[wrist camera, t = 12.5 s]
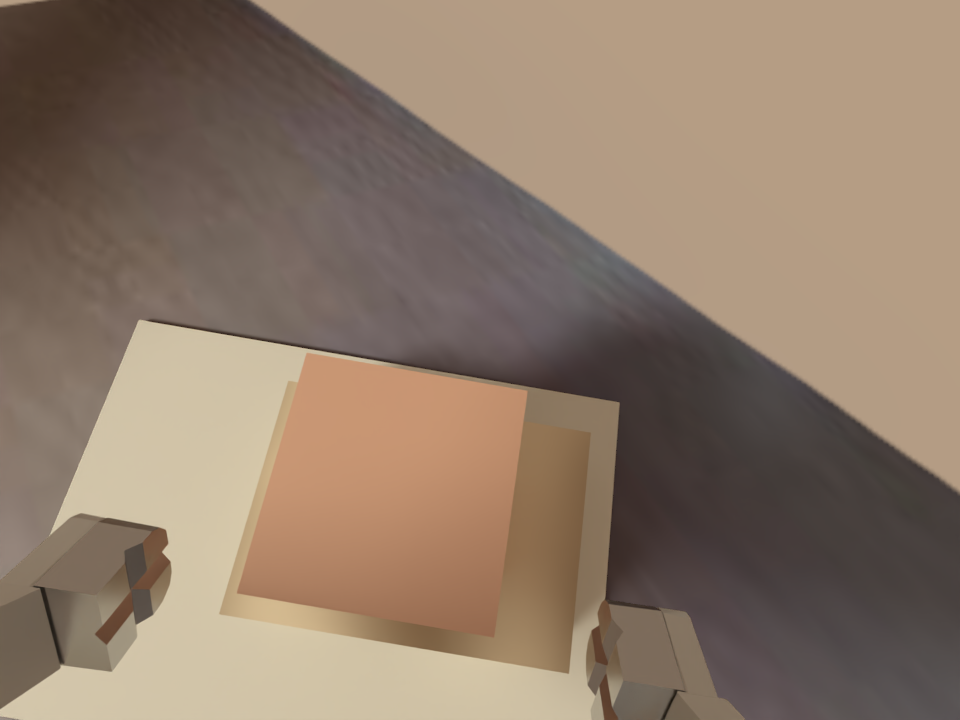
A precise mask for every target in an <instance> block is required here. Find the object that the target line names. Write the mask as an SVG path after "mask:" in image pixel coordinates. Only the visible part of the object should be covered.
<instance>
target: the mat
mask: <svg viewBox="0 0 960 720" xmlns="http://www.w3.org/2000/svg"><path fill="white" fill-rule="evenodd" d="M306 353H312V354H317V355H323V356H329V357H335V358H341V359H346V360H352V361H358V362H364V363H370V364H375V365H381V366H387V367H393V368H398V369H404V370H410V371H416V372H422V373H427V374H433V375H439V376H445V377H451V378H456V379H462V380H468V381H474V382H479V383H485V384H491V385H497V386H503V387H508V388H514V389H520V390H526V391H528V393H527V400H526V408H525V415H524V421H526V422H532V423H538V424H544V425H549V426H555V427H561V428H567V429H573V430H579V431H584V432H590V433H591V437H590V448H589V459H588V470H587V481H586V492H585V503H584V514H583V525H582V536H581V547H580V558H579V569H578V580H577V591H576V602H575V614H574V625H573V636H572V647H571V658H570V669H569V674H567V673H561V672H555V671H549V670H543V669H538V668H532V667H526V666H520V665H514V664H508V663H502V662H496V661H491V660H485V659H479V658H473V657H467V656H461V655H455V654H449V653H444V652H438V651H432V650H426V649H420V648H414V647H408V646H403V645H397V644H391V643H385V642H379V641H373V640H367V639H361V638H356V637H350V636H344V635H338V634H332V633H326V632H320V631H314V630H309V629H303V628H297V627H291V626H285V625H279V624H273V623H267V622H262V621H256V620H250V619H244V618H238V617H232V616H226V615H220V614H219V612H220V609H221V606H222V602H223V599H224V595H225V592H226V589H227V585H228V582H229V579H230V575H231V572H232V569H233V565H234V562H235V558H236V555H237V552H238V548H239V545H240V542H241V538H242V535H243V532H244V528H245V525H246V521H247V518H248V515H249V511H250V508H251V505H252V501H253V498H254V495H255V491H256V488H257V484H258V481H259V478H260V474H261V471H262V468H263V464H264V461H265V458H266V454H267V451H268V447H269V444H270V441H271V437H272V434H273V431H274V427H275V424H276V421H277V417H278V414H279V410H280V407H281V404H282V400H283V397H284V394H285V390H286V387H287V384H288V381H293V382H298V381H299V377H300V374H301V370H302V367H303V364H304V360H305V357H306ZM619 404H620V402H614V401H608V400H602V399H596V398H590V397H585V396H579V395H573V394H567V393H561V392H556V391H550V390H544V389H538V388H532V387H526V386H521V385H515V384H509V383H503V382H497V381H492V380H486V379H480V378H474V377H468V376H462V375H457V374H451V373H445V372H439V371H433V370H428V369H422V368H416V367H410V366H404V365H398V364H393V363H387V362H381V361H375V360H369V359H364V358H358V357H352V356H346V355H340V354H334V353H329V352H323V351H317V350H311V349H305V348H300V347H294V346H288V345H282V344H276V343H270V342H265V341H259V340H253V339H247V338H241V337H236V336H230V335H224V334H218V333H212V332H206V331H201V330H195V329H189V328H183V327H177V326H172V325H166V324H160V323H154V322H148V321H142V320H139V321H138V324H137V326H136V329H135V331H134V333H133V336H132V338H131V341H130V343H129V345H128V348H127V350H126V353H125V355H124V357H123V360H122V362H121V365H120V367H119V370H118V372H117V374H116V377H115V379H114V382H113V384H112V386H111V389H110V391H109V394H108V396H107V398H106V401H105V403H104V406H103V408H102V411H101V413H100V415H99V418H98V420H97V423H96V425H95V427H94V430H93V432H92V435H91V437H90V439H89V442H88V444H87V447H86V449H85V452H84V454H83V456H82V459H81V461H80V464H79V466H78V468H77V471H76V473H75V476H74V478H73V480H72V483H71V485H70V488H69V490H68V493H67V495H66V497H65V500H64V502H63V505H62V507H61V509H60V512H59V514H58V517H57V519H56V521H55V524H54V526H53V529H52V531H51V533H50V535H51V534H52V533H53V532H54V531H56V530H57V529H58V528H59V527H60V526H61V525H62V524H63V523H64V522H66V521H67V520H68V519H69V518H70V517H72V516H75V515H77V514H80V513H84V514H89V515H94V516H100V517H105V518H113V519H118V520H123V521H128V522H134V523H139V524H144V525H150V526H155V527H160V528H162V529H165V530H166V532H167V538H168V543H169V544H168V545H167V546H166V547H165V549H164V550H163V551H162V553H163V554H164V555H165V556H166V557H167V558H168V559H169V560H170V562H171V569H172V574H171V581H170V585H169V588H168V590H167V593H166V595H165V597H164V600H163V602H162V603H161V605H160V606H159V608H158V609H157V610H156V612H155V613H154V615H153V616H151V617H149V618H147V619H146V620H144V621H142V622H140V623H139V624H137V638H136V640H135V641H134V642H133V644H132V645H131V647H130V648H129V649H128V651H127V652H126V653H125V655H124V656H123V658H122V659H121V660H120V662H119V663H118V664H117V666H116V667H115V669H114V670H113V671H112V672H109V671H101V670H94V669H86V668H78V667H71V666H63V665H61V668H60V669H59V670H58V671H56V672H55V673H53V674H52V675H50V676H49V677H47V678H46V679H44V680H43V681H41V682H40V683H39V684H37V685H36V686H34V687H33V688H31V689H30V690H28V691H27V692H25V693H24V694H22V695H21V696H19V697H18V698H16V699H15V700H13V701H12V702H10V703H9V704H7V705H6V706H4V707H3V708H1V709H0V716H3V717H9V718H15V719H20V720H592V718H591V711H590V710H591V707H592V705H593V702H594V699H595V695H594V693H593V692H592V691H591V689H590V688H589V687H588V685H587V676H586V652H587V644H588V640H589V637H590V633H591V630H593V629H594V628H596V627H597V626H599V621H598V615H597V613H598V610H599V607H600V605H601V603H602V602H603V601H604V599H605V595H606V581H607V568H608V554H609V541H610V527H611V513H612V500H613V486H614V472H615V459H616V445H617V432H618V418H619Z"/></svg>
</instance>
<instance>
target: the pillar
mask: <svg viewBox="0 0 960 720" xmlns="http://www.w3.org/2000/svg"><path fill="white" fill-rule="evenodd" d="M527 393H528V391H526V390H520V389H514V388H508V387H503V386H497V385H491V384H485V383H479V382H474V381H468V380H462V379H456V378H451V377H445V376H439V375H433V374H427V373H422V372H416V371H410V370H404V369H398V368H393V367H387V366H381V365H375V364H370V363H364V362H358V361H352V360H346V359H341V358H335V357H329V356H323V355H317V354H312V353H306V357H305V360H304V364H303V367H302V370H301V374H300V377H299V381H298V384H297V388H296V391H295V394H294V398H293V401H292V405H291V408H290V412H289V415H288V418H287V422H286V425H285V429H284V432H283V436H282V439H281V442H280V446H279V449H278V453H277V456H276V460H275V463H274V466H273V470H272V473H271V477H270V480H269V484H268V487H267V490H266V494H265V497H264V501H263V504H262V508H261V511H260V514H259V518H258V521H257V525H256V528H255V532H254V535H253V538H252V542H251V545H250V549H249V552H248V556H247V559H246V562H245V566H244V569H243V573H242V576H241V580H240V583H239V586H238V590H237V594H243V595H249V596H254V597H260V598H266V599H272V600H278V601H283V602H289V603H295V604H301V605H307V606H313V607H318V608H324V609H330V610H336V611H342V612H348V613H353V614H359V615H365V616H371V617H377V618H383V619H388V620H394V621H400V622H406V623H412V624H418V625H423V626H429V627H435V628H441V629H447V630H453V631H458V632H464V633H470V634H476V635H482V636H487V637H493V638H494V635H495V627H496V620H497V613H498V606H499V598H500V591H501V584H502V576H503V569H504V562H505V554H506V547H507V540H508V532H509V525H510V518H511V510H512V503H513V496H514V488H515V481H516V474H517V466H518V459H519V452H520V444H521V437H522V430H523V422H524V415H525V408H526V400H527Z"/></svg>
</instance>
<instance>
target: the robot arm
mask: <svg viewBox="0 0 960 720" xmlns="http://www.w3.org/2000/svg"><path fill="white" fill-rule="evenodd" d="M168 544H169V543H168V538H167V532H166V530H165V529H162V528H160V527H155V526H150V525H144V524H139V523H134V522H128V521H123V520H118V519H113V518H105V517H100V516H94V515H89V514H84V513H80V514H77V515H75V516H72V517H70V518H69V519H68V520H67V521H66V522H64V523H63V524H62V525H61V526H60V527H59V528H58V529H57V530H56V531H54V532H53V533H52V534H51V535H50V536H49V537H48V538H47V539H46V540H45V541H43V542H42V543H41V544H40V545H39V546H38V547H37V548H36V549H35V550H33V551H32V552H31V553H30V554H29V555H28V556H27V557H26V558H25V559H23V560H22V561H21V562H20V563H19V564H18V565H17V566H16V567H15V568H13V569H12V570H11V571H10V572H9V573H8V574H7V575H6V576H5V577H4V578H2V579H1V580H0V709H1V708H3V707H4V706H6V705H7V704H9V703H10V702H12V701H13V700H15V699H16V698H18V697H19V696H21V695H22V694H24V693H25V692H27V691H28V690H30V689H31V688H33V687H34V686H36V685H37V684H39V683H40V682H41V681H43V680H44V679H46V678H47V677H49V676H50V675H52V674H53V673H55V672H56V671H58V670H59V669H60V668H61V665H63V666H71V667H78V668H86V669H94V670H101V671H109V672H112V671H113V670H114V669H115V667H116V666H117V664H118V663H119V662H120V660H121V659H122V658H123V656H124V655H125V653H126V652H127V651H128V649H129V648H130V647H131V645H132V644H133V642H134V641H135V640H136V638H137V624H139V623H140V622H142V621H144V620H146V619H147V618H149V617H151V616H153V615H154V613H155V612H156V610H157V609H158V608H159V606H160V605H161V603H162V602H163V600H164V597H165V595H166V593H167V590H168V588H169V585H170V581H171V574H172V569H171V562H170V560H169V559H168V558H167V557H166V556H165V555H164V554H163V553H162V551H163V550H164V549H165V547H166V546H167V545H168ZM597 615H598V621H599V626H597V627H596V628H594V629H593V630H591V633H590V637H589V640H588V644H587V652H586V676H587V685H588V687H589V688H590V689H591V691H592V692H593V693H594V695H595V699H594V702H593V705H592V707H591V710H590V711H591V718H592V720H745V719H744V717H743V716H742V715H741V714H740V713H739V712H738V711H737V710H736V709H735V708H734V707H733V706H732V705H731V703H730V702H729V701H728V700H727V699H722V698H718V696H717V693H716V690H715V687H714V684H713V682H712V679H711V676H710V673H709V670H708V667H707V664H706V661H705V659H704V656H703V653H702V650H701V647H700V644H699V641H698V639H697V636H696V633H695V630H694V627H693V624H692V621H691V618H690V616H689V615H688V614H687V613H686V612H684V611H678V610H671V609H665V608H656V607H653V606H646V605H640V604H633V603H627V602H620V601H613V600H607V599H604V601H603V602H602V603H601V605H600V607H599V610H598V613H597Z"/></svg>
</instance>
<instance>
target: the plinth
mask: <svg viewBox="0 0 960 720" xmlns="http://www.w3.org/2000/svg"><path fill="white" fill-rule="evenodd" d="M297 384H298V382H293V381H288V384H287V387H286V390H285V394H284V397H283V400H282V404H281V407H280V410H279V414H278V417H277V421H276V424H275V427H274V431H273V434H272V437H271V441H270V444H269V447H268V451H267V454H266V458H265V461H264V464H263V468H262V471H261V474H260V478H259V481H258V484H257V488H256V491H255V495H254V498H253V501H252V505H251V508H250V511H249V515H248V518H247V521H246V525H245V528H244V532H243V535H242V538H241V542H240V545H239V548H238V552H237V555H236V558H235V562H234V565H233V569H232V572H231V575H230V579H229V582H228V585H227V589H226V592H225V595H224V599H223V602H222V606H221V609H220V612H219V614H220V615H226V616H232V617H238V618H244V619H250V620H256V621H262V622H267V623H273V624H279V625H285V626H291V627H297V628H303V629H309V630H314V631H320V632H326V633H332V634H338V635H344V636H350V637H356V638H361V639H367V640H373V641H379V642H385V643H391V644H397V645H403V646H408V647H414V648H420V649H426V650H432V651H438V652H444V653H449V654H455V655H461V656H467V657H473V658H479V659H485V660H491V661H496V662H502V663H508V664H514V665H520V666H526V667H532V668H538V669H543V670H549V671H555V672H561V673H567V674H569V669H570V658H571V647H572V636H573V625H574V614H575V602H576V591H577V580H578V569H579V558H580V547H581V536H582V525H583V514H584V503H585V492H586V481H587V470H588V459H589V448H590V437H591V433H590V432H584V431H579V430H573V429H567V428H561V427H555V426H549V425H544V424H538V423H532V422H526V421H524V422H523V430H522V437H521V444H520V452H519V459H518V466H517V474H516V481H515V488H514V496H513V503H512V510H511V518H510V525H509V532H508V540H507V547H506V554H505V562H504V569H503V576H502V584H501V591H500V598H499V606H498V613H497V620H496V627H495V635H494V638H493V637H487V636H482V635H476V634H470V633H464V632H458V631H453V630H447V629H441V628H435V627H429V626H423V625H418V624H412V623H406V622H400V621H394V620H388V619H383V618H377V617H371V616H365V615H359V614H353V613H348V612H342V611H336V610H330V609H324V608H318V607H313V606H307V605H301V604H295V603H289V602H283V601H278V600H272V599H266V598H260V597H254V596H249V595H243V594H237V590H238V586H239V583H240V580H241V576H242V573H243V569H244V566H245V562H246V559H247V556H248V552H249V549H250V545H251V542H252V538H253V535H254V532H255V528H256V525H257V521H258V518H259V514H260V511H261V508H262V504H263V501H264V497H265V494H266V490H267V487H268V484H269V480H270V477H271V473H272V470H273V466H274V463H275V460H276V456H277V453H278V449H279V446H280V442H281V439H282V436H283V432H284V429H285V425H286V422H287V418H288V415H289V412H290V408H291V405H292V401H293V398H294V394H295V391H296V388H297Z"/></svg>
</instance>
